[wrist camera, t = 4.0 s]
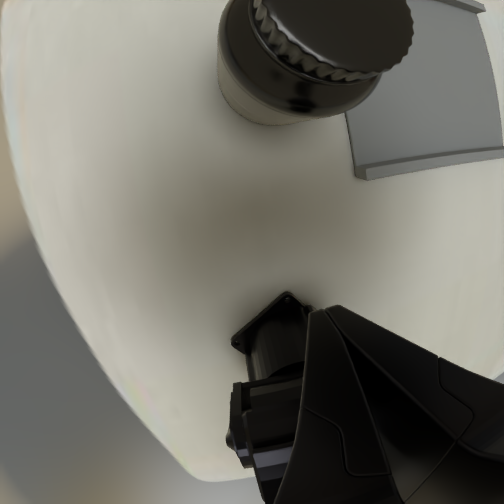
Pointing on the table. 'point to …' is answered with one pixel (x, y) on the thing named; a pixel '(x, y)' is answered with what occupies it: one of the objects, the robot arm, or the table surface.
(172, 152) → the table surface
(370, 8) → the supplement bottle
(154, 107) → the table surface
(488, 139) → the tray
